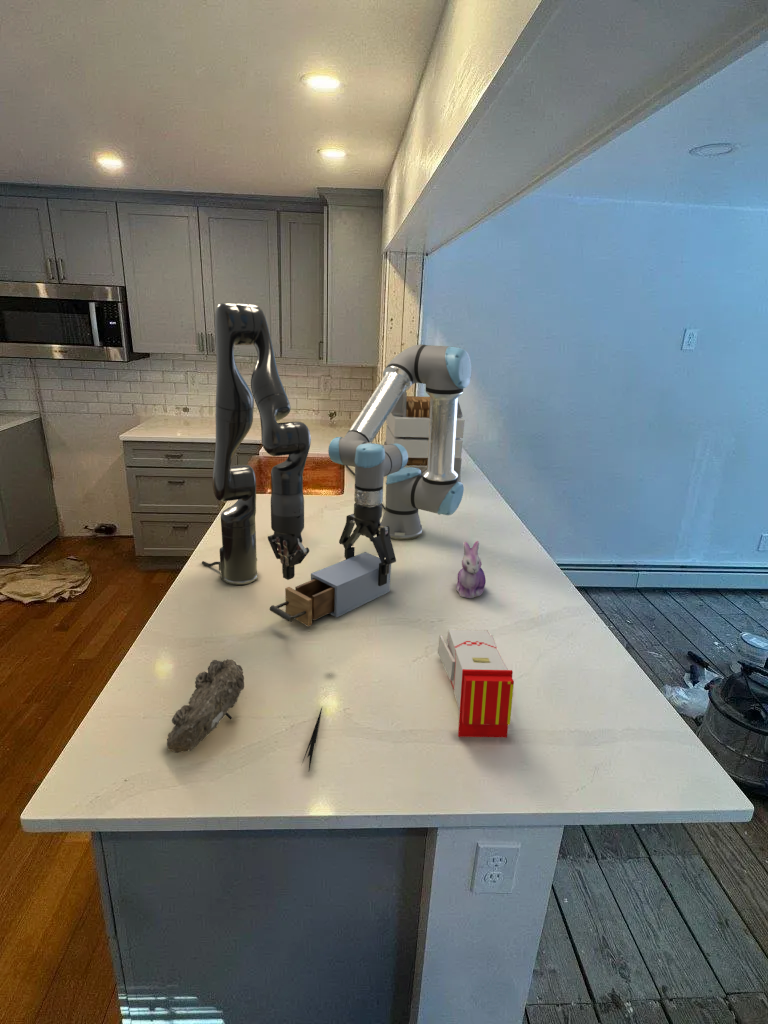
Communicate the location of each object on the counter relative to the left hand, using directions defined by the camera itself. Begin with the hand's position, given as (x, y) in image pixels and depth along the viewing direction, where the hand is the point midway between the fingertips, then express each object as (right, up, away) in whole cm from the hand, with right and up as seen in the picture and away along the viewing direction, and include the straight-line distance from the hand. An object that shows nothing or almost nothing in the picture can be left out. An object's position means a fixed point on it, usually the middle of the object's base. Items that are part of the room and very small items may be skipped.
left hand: (288, 578), depth 135 cm
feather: (+10, -24, -26) cm, 37 cm away
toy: (+41, -22, -16) cm, 49 cm away
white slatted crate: (+40, +35, +140) cm, 150 cm away
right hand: (+18, -2, +22) cm, 28 cm away
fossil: (-10, -23, -27) cm, 37 cm away
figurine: (+47, -7, +26) cm, 54 cm away
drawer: (+6, -10, +11) cm, 16 cm away
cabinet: (+14, -8, +20) cm, 25 cm away
